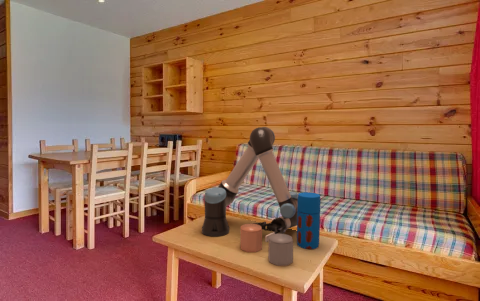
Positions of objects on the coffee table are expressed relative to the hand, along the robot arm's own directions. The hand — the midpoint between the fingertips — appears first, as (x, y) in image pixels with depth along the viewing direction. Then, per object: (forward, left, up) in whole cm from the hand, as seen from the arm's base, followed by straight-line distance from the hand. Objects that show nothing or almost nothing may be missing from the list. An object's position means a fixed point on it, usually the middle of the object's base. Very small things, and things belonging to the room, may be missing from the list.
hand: (254, 235), depth 140 cm
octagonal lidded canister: (-1, -2, -6) cm, 6 cm away
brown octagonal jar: (+17, -3, -6) cm, 18 cm away
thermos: (+17, +20, -6) cm, 27 cm away
